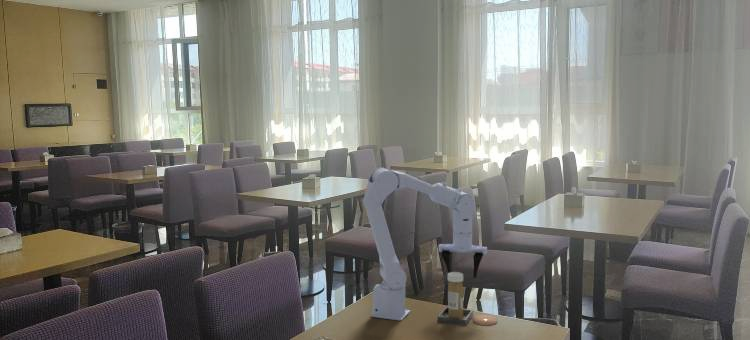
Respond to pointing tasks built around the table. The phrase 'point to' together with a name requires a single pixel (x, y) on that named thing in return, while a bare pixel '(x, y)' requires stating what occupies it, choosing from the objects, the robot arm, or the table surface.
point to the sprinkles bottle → (455, 295)
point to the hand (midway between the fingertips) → (462, 275)
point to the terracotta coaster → (485, 319)
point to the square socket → (455, 320)
